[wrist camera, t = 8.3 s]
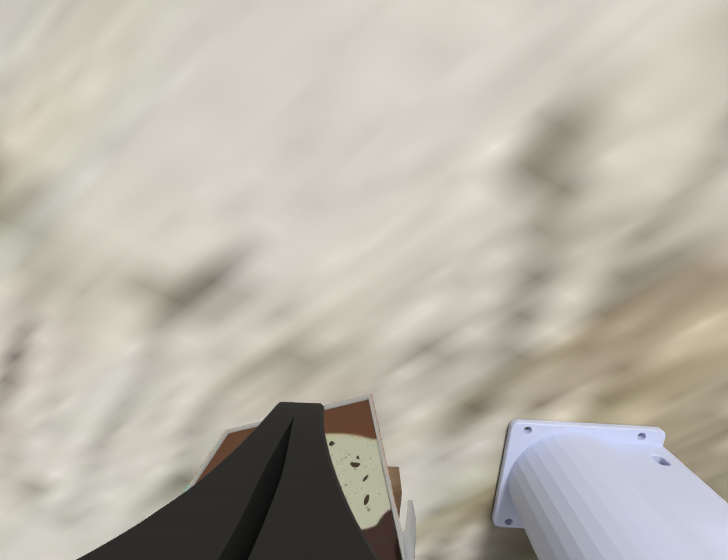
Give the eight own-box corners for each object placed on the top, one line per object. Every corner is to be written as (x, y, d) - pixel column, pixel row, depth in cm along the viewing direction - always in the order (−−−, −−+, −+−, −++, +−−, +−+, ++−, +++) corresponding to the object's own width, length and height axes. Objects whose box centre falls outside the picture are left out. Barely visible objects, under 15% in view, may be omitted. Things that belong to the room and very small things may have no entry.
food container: (238, 511, 24) (155, 729, 15) (203, 435, 23) (84, 622, 13) (419, 470, 23) (457, 673, 14) (395, 388, 22) (419, 552, 12)
